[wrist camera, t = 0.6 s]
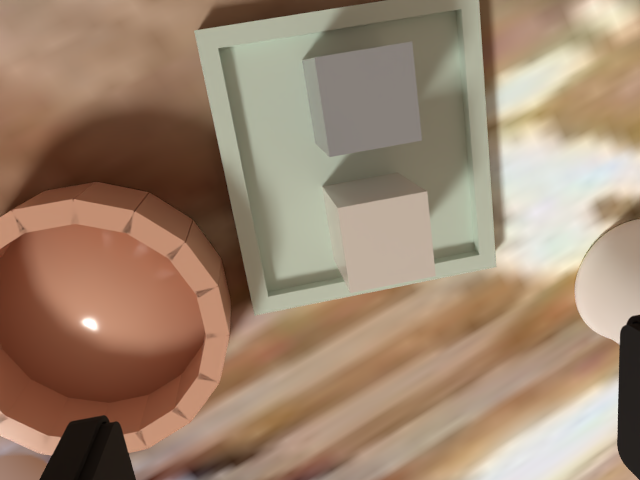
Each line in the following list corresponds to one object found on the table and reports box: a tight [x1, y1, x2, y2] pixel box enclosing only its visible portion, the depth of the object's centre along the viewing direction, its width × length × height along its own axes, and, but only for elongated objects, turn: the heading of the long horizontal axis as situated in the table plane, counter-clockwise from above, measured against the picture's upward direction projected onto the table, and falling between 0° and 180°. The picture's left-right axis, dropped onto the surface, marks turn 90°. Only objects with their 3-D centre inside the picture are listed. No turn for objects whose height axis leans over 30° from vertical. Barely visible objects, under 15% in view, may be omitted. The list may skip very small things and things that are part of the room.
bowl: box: [0, 182, 231, 455], centre depth 31 cm, size 14×14×4 cm
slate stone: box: [302, 42, 422, 157], centre depth 28 cm, size 4×4×6 cm
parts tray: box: [194, 0, 496, 315], centre depth 32 cm, size 16×15×1 cm
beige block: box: [322, 172, 436, 293], centre depth 30 cm, size 4×4×6 cm
